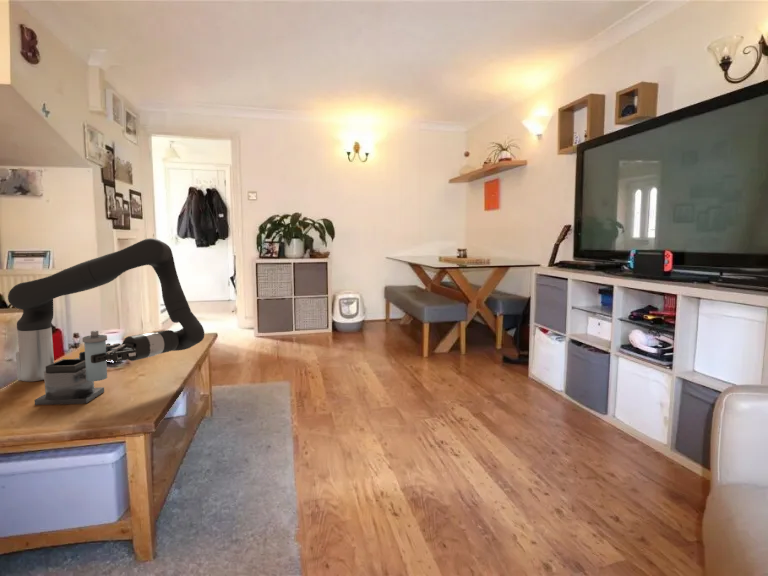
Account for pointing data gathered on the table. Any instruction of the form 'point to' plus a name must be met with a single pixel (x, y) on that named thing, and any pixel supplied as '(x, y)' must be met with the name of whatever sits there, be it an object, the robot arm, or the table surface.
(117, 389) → the table surface
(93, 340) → the grey lidded canister
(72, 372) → the dark grey holder
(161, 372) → the table surface
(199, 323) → the robot arm
